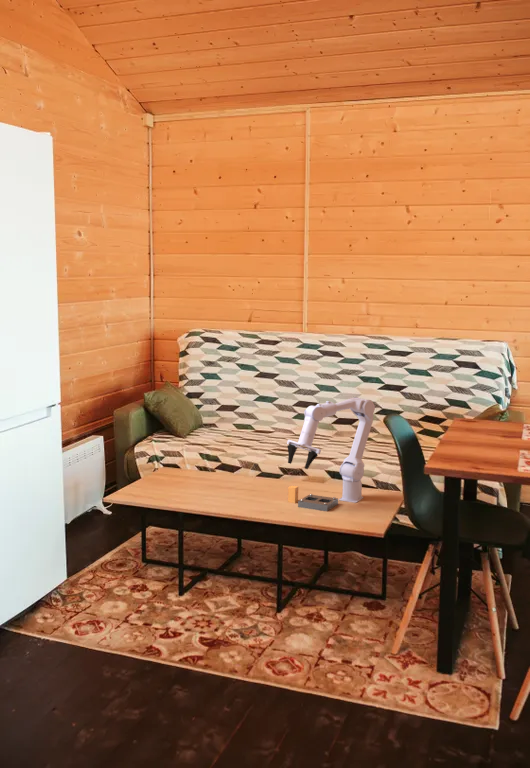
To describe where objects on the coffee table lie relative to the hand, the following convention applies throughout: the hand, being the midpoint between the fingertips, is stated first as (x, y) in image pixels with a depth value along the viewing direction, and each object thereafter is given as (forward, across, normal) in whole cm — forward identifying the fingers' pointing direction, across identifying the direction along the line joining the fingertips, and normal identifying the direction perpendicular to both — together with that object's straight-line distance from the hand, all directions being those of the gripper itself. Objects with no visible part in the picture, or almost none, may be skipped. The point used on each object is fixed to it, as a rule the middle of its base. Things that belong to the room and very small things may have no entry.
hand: (297, 466), depth 316 cm
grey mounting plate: (+13, +9, +14) cm, 21 cm away
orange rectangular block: (+15, -3, +14) cm, 21 cm away
